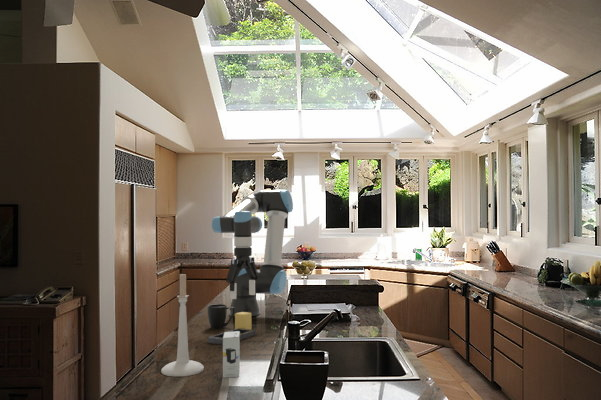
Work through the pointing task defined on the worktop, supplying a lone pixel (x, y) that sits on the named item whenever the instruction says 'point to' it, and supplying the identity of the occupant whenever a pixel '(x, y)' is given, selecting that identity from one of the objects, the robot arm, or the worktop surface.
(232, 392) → the worktop surface
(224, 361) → the ink box
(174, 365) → the candlestick
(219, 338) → the frame with square openings
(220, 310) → the mug
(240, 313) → the yellow block
